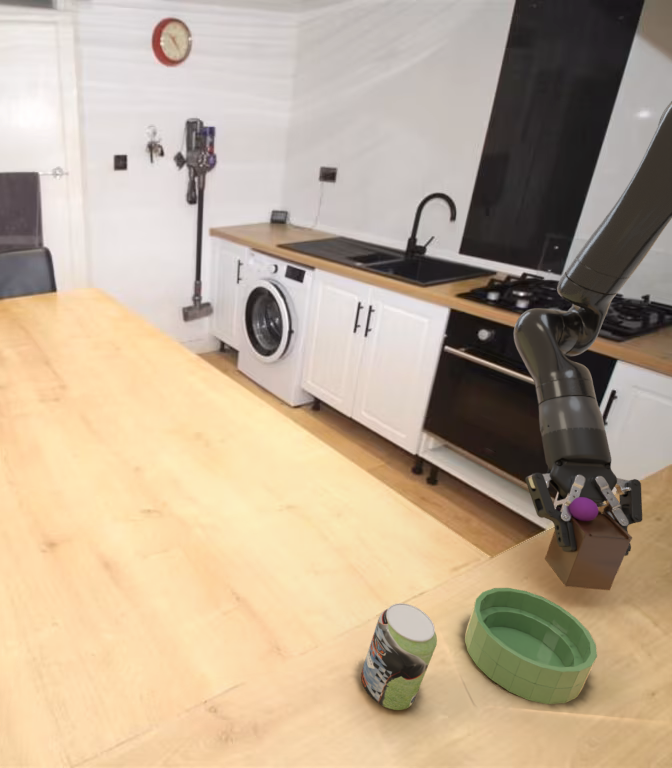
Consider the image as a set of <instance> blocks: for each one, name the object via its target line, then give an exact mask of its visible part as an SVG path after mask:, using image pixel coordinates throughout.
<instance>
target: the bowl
mask: <svg viewBox="0 0 672 768" xmlns="http://www.w3.org/2000/svg"><path fill="white" fill-rule="evenodd" d="M464 643H465V647H466V651H467V653H468V654H469V656H470V658H471V659H472V661H473V663H474V665H476V666H477V668H478V669H479V670H480V671H481V672H483V674H484V675H486V676H487V677H488V679H490V680H491V681H492V682H494V683H495V684H497V685H499V686H500V687H501V688H503V689H504V690H506V691H507V692H509V693H510V694H514V695H516V696H518V697H520V698H522V699H525V700H527V701H530V702H535V703H540V704H545V705H555V704H567V703H568V702H570V701H573V700H575V699H577V698H578V697H579V695H580V693H581V692H582V690H583V688H584V687H585V684H586V682H587V679H588V678H589V676H590V673H591V671H592V669H593V666H594V665H595V662H596V660H597V658H598V651H597V644H596V642H595V640H594V638H593V636H592V635H591V632H590V631H589V630H588V629H587V627H586V626H584V624H583V623H581V621H580V619H578V618H577V617H575V615H573V614H572V613H570V611H567V609H565V608H564V607H562V606H561V605H559V604H557V603H555V602H553V601H551V600H549V599H547V598H546V597H543V596H541V595H538V594H536V593H533V592H530V591H527V590H523V589H517V588H512V587H493V588H490V589H487V590H484V591H482V592H481V593H480V594H479V595H478V596H477V597H476V598H475V601H474V604H473V606H472V610H471V613H470V617H469V619H468V622H467V626H466V629H465V635H464Z"/></svg>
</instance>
